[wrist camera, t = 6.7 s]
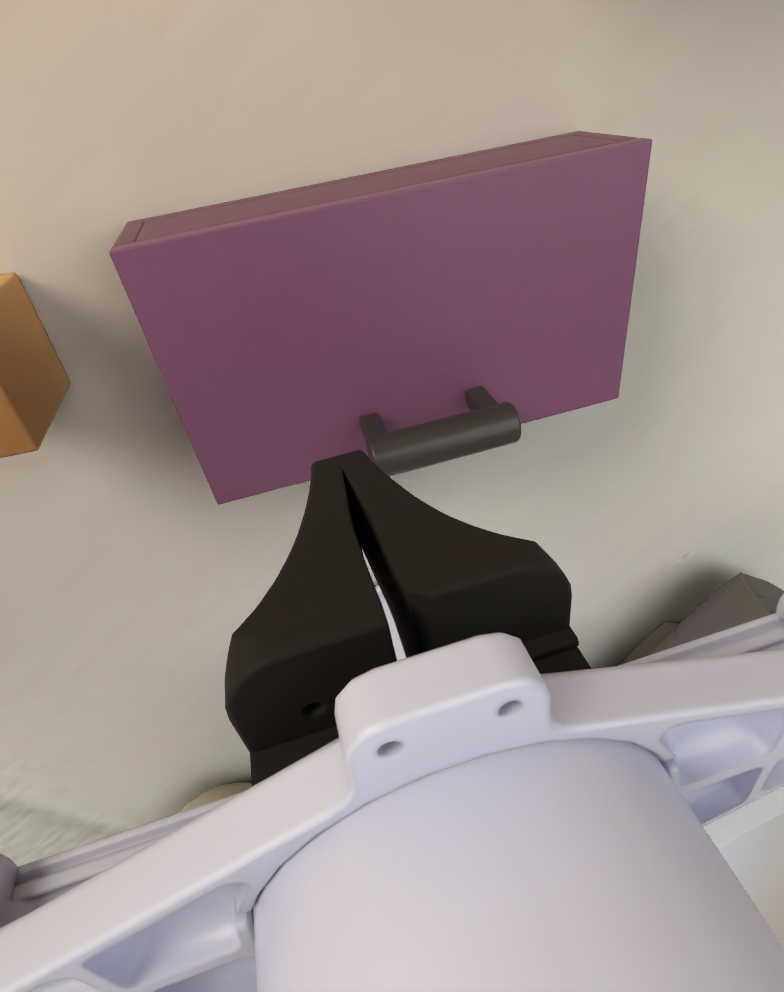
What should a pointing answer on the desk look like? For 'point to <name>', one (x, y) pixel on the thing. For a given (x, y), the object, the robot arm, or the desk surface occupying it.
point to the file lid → (395, 317)
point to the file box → (360, 185)
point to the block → (25, 372)
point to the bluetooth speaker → (714, 615)
